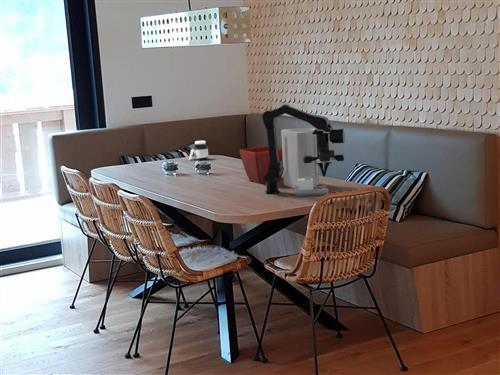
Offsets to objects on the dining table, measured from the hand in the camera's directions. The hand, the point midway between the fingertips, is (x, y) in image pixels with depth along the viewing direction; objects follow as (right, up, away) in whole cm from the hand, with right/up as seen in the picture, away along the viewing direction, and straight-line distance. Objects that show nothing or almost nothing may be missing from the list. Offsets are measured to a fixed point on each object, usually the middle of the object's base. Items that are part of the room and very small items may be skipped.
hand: (324, 176), depth 365 cm
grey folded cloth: (-6, -8, +1) cm, 10 cm away
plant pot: (-27, -2, +42) cm, 50 cm away
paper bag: (-8, -5, +22) cm, 24 cm away
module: (-9, -7, +1) cm, 11 cm away
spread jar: (-68, +12, +130) cm, 147 cm away
